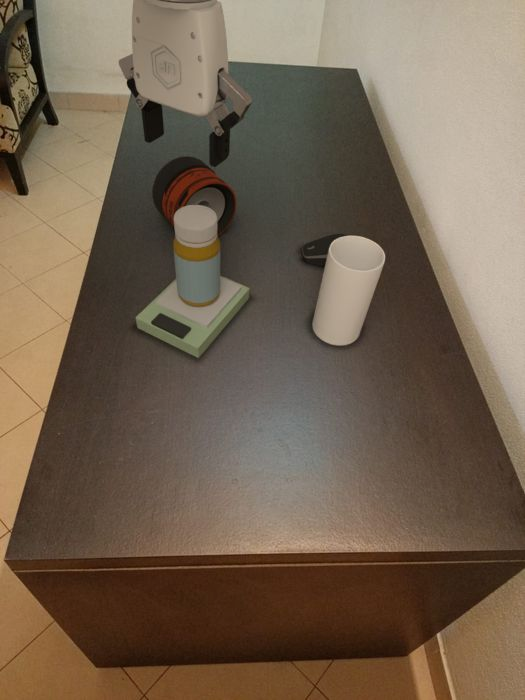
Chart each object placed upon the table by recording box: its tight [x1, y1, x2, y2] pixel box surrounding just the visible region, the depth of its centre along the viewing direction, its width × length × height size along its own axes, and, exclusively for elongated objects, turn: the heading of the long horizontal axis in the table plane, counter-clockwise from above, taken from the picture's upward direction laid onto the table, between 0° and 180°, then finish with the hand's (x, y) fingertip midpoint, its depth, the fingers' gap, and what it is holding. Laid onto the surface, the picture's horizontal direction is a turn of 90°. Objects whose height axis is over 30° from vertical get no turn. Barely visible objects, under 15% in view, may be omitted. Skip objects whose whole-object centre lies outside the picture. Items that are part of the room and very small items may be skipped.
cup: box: [311, 235, 386, 346], centre depth 74 cm, size 8×8×16 cm
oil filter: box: [151, 155, 237, 237], centre depth 90 cm, size 13×12×13 cm
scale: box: [135, 275, 250, 359], centre depth 79 cm, size 16×12×3 cm
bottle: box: [172, 205, 221, 306], centre depth 72 cm, size 7×7×15 cm
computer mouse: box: [301, 233, 350, 267], centre depth 90 cm, size 7×12×4 cm, turn 91°
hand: (186, 150), depth 59 cm, fingers open, 9 cm apart
